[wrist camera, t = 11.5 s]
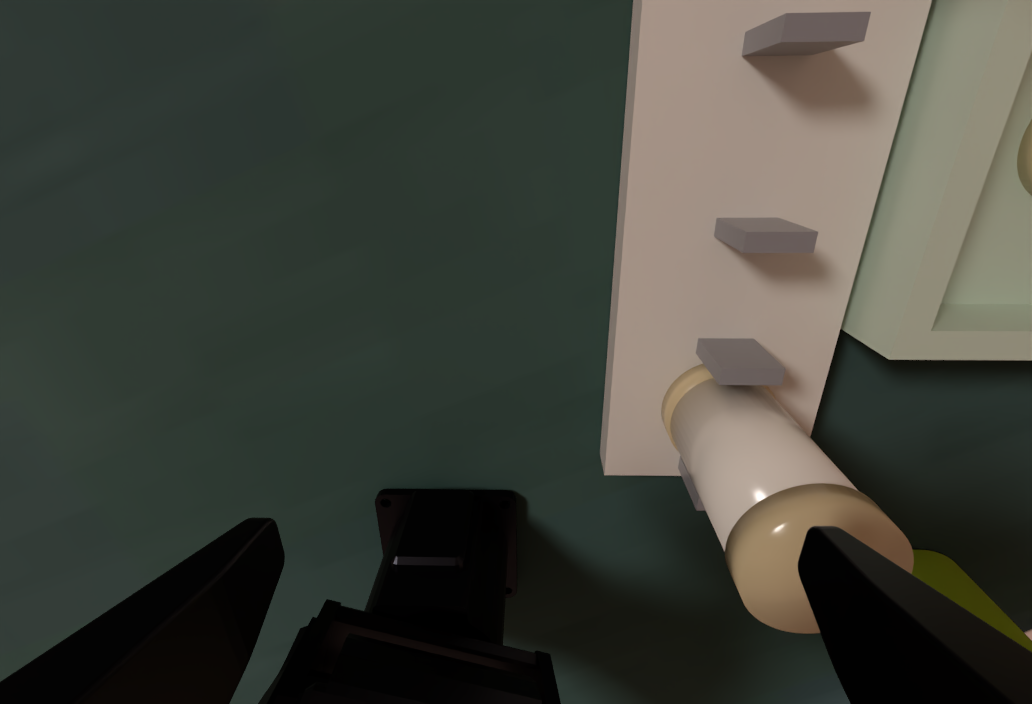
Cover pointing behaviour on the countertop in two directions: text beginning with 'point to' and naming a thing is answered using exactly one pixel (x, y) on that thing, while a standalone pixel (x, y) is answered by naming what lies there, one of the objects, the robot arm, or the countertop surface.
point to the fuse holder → (744, 200)
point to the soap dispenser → (964, 592)
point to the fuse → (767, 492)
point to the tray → (954, 198)
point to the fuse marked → (1025, 159)
